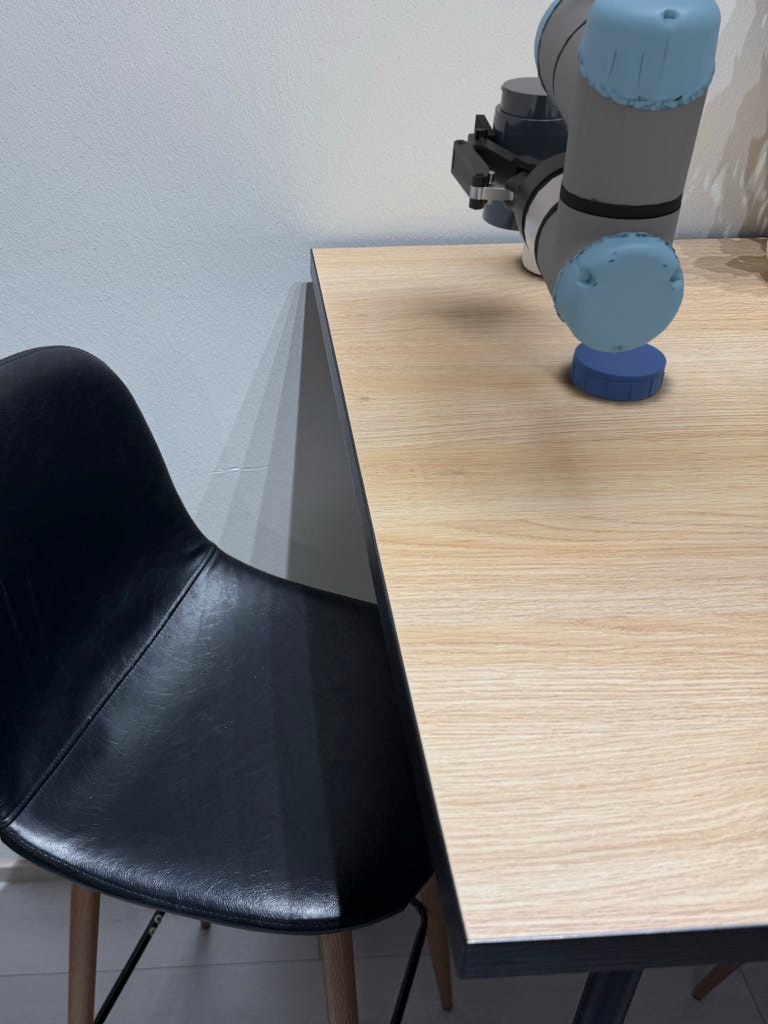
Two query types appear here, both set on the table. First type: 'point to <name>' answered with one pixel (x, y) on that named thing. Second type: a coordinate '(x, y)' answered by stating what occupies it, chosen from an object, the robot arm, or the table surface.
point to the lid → (618, 372)
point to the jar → (525, 133)
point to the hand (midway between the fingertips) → (520, 130)
